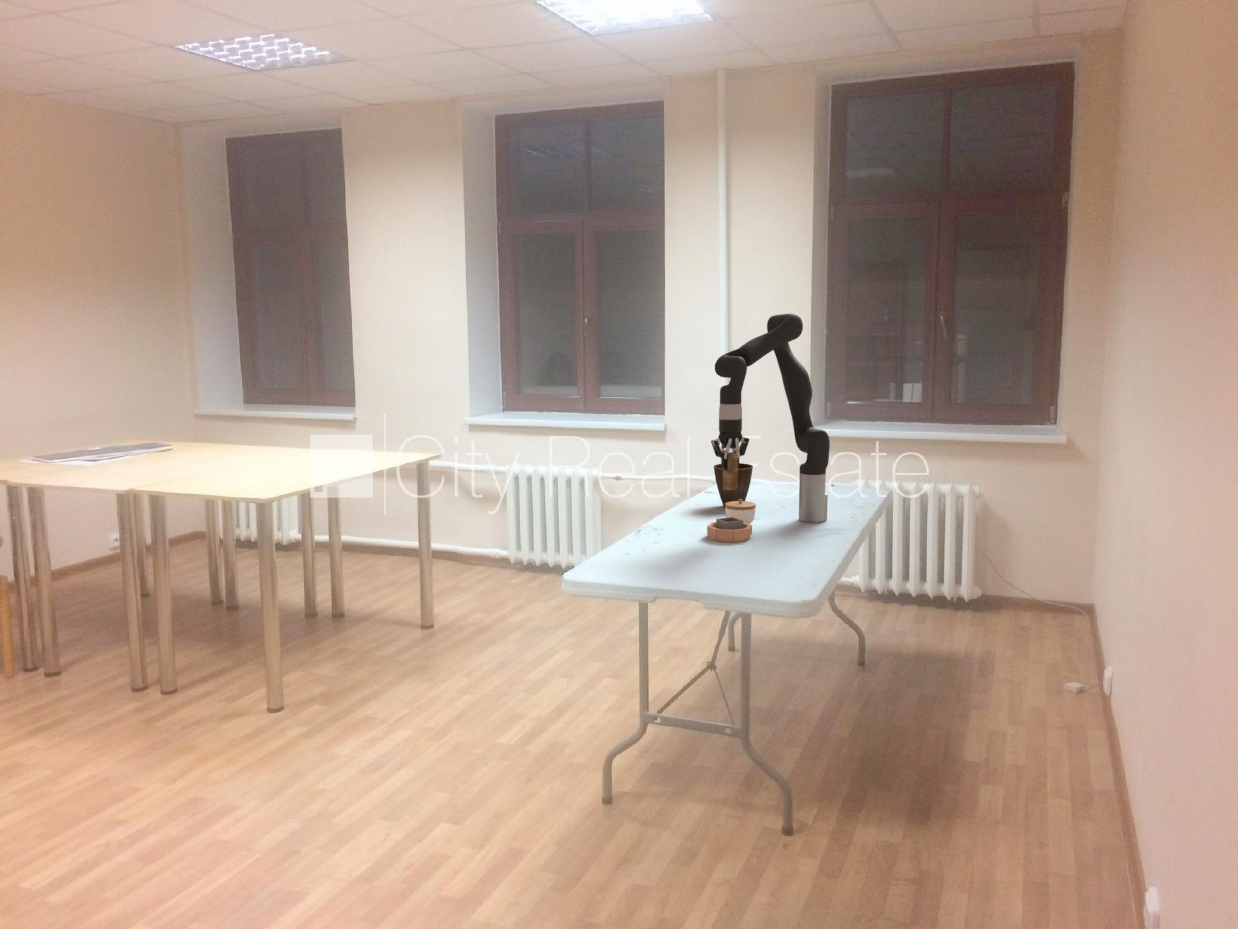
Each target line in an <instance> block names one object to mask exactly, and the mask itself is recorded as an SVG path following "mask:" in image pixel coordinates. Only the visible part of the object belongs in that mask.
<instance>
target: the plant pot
mask: <svg viewBox="0 0 1238 929" xmlns="http://www.w3.org/2000/svg"><path fill="white" fill-rule="evenodd" d="M753 468H754V466H753V465H752V464H749V463H740V462H739V467H738V489H736V490H726V489H723V469H722V467H721V463H717V464H714V465H713V471H714V472H713V473H714V477H715V478H714V479H715V483H716V487H717V490H718V494H719V498H720V500H721V502H722V506H723V508H725V503H727V502H731V501H739V499H742V501H746V500H747V496H748V494H749V489H750V485H751V481H752V475H753Z"/></svg>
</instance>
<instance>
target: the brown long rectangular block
mask: <svg viewBox="0 0 1238 929" xmlns="http://www.w3.org/2000/svg"><path fill="white" fill-rule="evenodd" d="M723 489H726V490H736V489H738V453H733V452H732V451H729V452H728V456H727V470H723Z"/></svg>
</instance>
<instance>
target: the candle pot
mask: <svg viewBox="0 0 1238 929" xmlns="http://www.w3.org/2000/svg"><path fill="white" fill-rule="evenodd" d="M706 534H707V536H708V539H710V540H711V541H715V542H718V543H719V542H720V543H741V542H747V541H749V540H751V538H752V537H751V536H752V535H753V525H752V524H751V523H750V524H747V523H745V522H743V520H740V519H737V518H734V517H729V518H726V517H721V518H720V517H719V518H716V519H715V522H713V521H711V522H710V523H709V524H708V525H707V526H706Z"/></svg>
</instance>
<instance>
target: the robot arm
mask: <svg viewBox="0 0 1238 929" xmlns="http://www.w3.org/2000/svg"><path fill="white" fill-rule="evenodd" d="M803 329H804V323H803V320H802V318H801V317H800V316H799V315H798V314H795V313H783V314H774V315H772V316H770V317H769V318H768V320H767V324H766V330H767V332H765V333H764V334H760V335H758V336H756V337H754V338H751V339H750V340H749V341H747V342H745V343H744V344H742V345H741V346H740V347H739V348H736V349H732V350H731V351H729V352H727V353H724V354H722V355H721V356H719V357H718V359H716V362H715V363H714V371H715V373H716V375H718V377H721V378H726V379H727V378H728V379H729V378H730V379H729V382H728V384H725V385H722V386H721V387H720V389H719V407H718V408H719V409H718V432H719V434H718V437H717V438H715V439H711V441H710V443H711V445H712V448H713V452H714V454H715V457H718V458H720V462H721V463H720V464H721V467H722V469H723V470H727V456H728V452H730V449H731V452H733V453H738V467H739V463H740V458H741V457H743V456H745V454H746V451H747V448H748V445H749V443H750V438H748V437H745V436H743V434H742V431H743V408H742V392H743V391H742V390H743V387H744V384H745V379H746V376H747V371H748V367H750V366H753V365H754V364H755V363H757V362H758V361H759V360H761V359H763V358H764V357H765V356H766V355H768V354H769V353H771V352H774V355H775V358H776V361H777V366H778V368H779V372H780V375H781V379H782V383H783V384H782V385H783V388H784V391H785V396H786V399H787V403H788V407H789V411H790V415H791V420H792V425H793V426H792V427H793V434H794V442H795V444H796V447H797V448H798V450H800V452H802V453H805V454H806V460H805V462H803V463H801V464H800V465H799V485H798V486H799V487H798V491H799V492H798V521H800V522H803V523H822V522H825V521H827V520H828V499H829V498H828V494H827V493H826V488H827V487H826V482H827V481H826V480H827V479H826V478H827V477H826V475H827V474H826V473H827V468H828V465H829V461H830V460H829V458H830V449H831V448H830V446H831V444H830V442H831V441H830V437H829V434H828V433H827V431H825V430H823V429H821V428H815V427H814V425H813V422H812V418H811V413H810V409H811V403H812V397H813V388H812V383H811V379H810V375H809V373H808V371H807V370H806V367H805V366H804V365H803V364H802V362H800V361H799V359H798V358H797V357H796V356H795V355H794V353H793V351H792V349H791V347H790V346H791V345H790V344H789V343H790V342H792V341H794V340H796V339H799V337H800V336H801V335H802V333H803ZM720 444H721V446H720Z"/></svg>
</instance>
